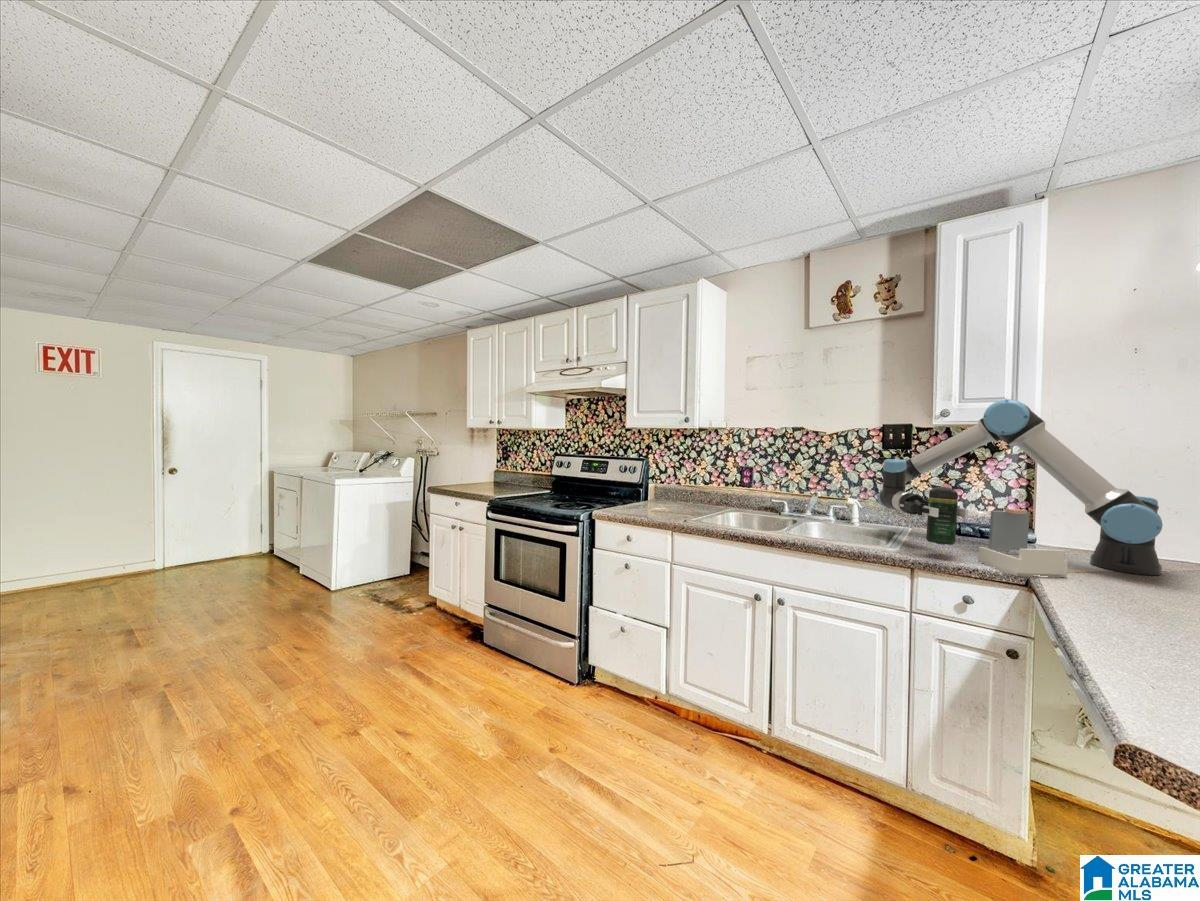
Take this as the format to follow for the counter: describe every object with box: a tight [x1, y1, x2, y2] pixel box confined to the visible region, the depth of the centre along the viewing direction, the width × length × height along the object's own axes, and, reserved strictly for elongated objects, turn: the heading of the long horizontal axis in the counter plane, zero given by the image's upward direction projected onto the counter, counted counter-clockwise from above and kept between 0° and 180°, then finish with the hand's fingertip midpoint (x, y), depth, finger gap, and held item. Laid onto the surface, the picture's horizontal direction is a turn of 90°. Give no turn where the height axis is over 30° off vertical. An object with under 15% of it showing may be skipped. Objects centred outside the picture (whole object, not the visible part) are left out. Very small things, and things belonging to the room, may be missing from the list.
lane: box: [977, 546, 1069, 579], centre depth 145 cm, size 14×15×8 cm
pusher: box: [988, 508, 1030, 551], centre depth 148 cm, size 11×4×13 cm, turn 88°
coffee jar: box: [925, 486, 959, 546], centre depth 157 cm, size 10×8×19 cm
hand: (951, 513), depth 152 cm, fingers closed on coffee jar, 8 cm apart
